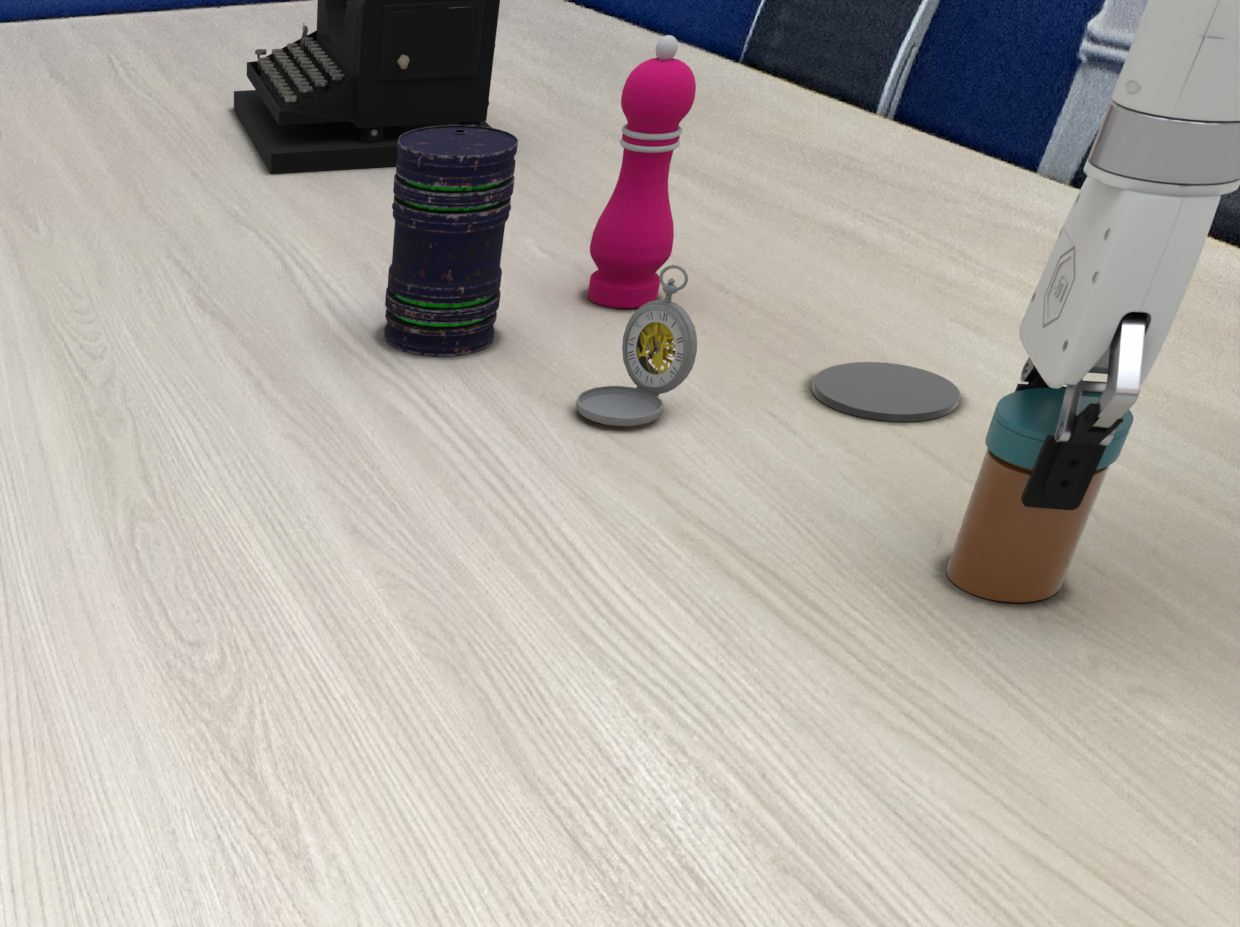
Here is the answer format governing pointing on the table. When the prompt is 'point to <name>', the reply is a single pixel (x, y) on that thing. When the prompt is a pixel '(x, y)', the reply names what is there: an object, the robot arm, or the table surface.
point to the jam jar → (1015, 537)
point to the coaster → (885, 391)
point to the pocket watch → (647, 362)
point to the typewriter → (369, 81)
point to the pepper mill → (642, 183)
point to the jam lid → (1039, 426)
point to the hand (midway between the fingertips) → (1034, 476)
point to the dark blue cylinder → (448, 238)
